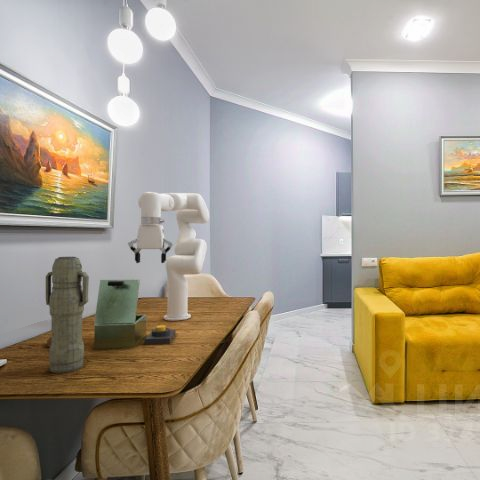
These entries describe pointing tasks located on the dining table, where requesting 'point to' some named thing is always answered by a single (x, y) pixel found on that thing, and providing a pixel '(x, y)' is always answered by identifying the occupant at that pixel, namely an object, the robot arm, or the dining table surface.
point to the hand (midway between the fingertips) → (150, 262)
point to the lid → (117, 301)
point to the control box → (160, 337)
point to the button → (161, 328)
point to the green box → (120, 334)
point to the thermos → (66, 313)
